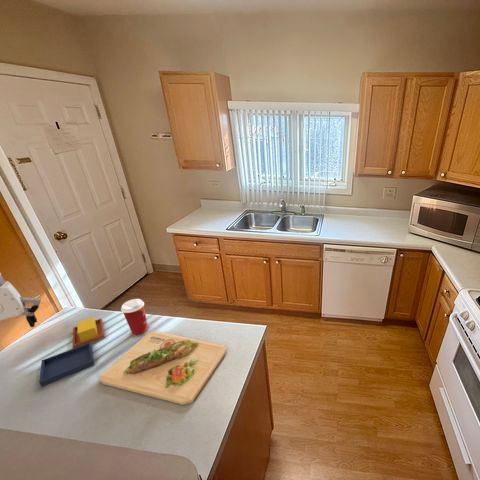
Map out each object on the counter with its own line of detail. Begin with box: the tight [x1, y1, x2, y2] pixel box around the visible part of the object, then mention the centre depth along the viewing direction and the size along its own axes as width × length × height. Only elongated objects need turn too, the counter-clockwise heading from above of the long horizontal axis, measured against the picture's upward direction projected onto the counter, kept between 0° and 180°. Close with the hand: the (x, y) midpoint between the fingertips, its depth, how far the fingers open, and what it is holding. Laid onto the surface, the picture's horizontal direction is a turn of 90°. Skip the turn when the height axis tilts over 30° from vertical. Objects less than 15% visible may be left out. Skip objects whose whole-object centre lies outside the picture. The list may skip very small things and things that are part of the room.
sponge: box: [76, 316, 98, 342], centre depth 103 cm, size 8×5×4 cm, turn 41°
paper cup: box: [120, 298, 149, 336], centre depth 104 cm, size 8×8×14 cm
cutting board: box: [99, 330, 228, 406], centre depth 91 cm, size 35×23×8 cm
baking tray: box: [38, 342, 95, 388], centre depth 90 cm, size 13×11×2 cm
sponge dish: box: [72, 318, 106, 349], centre depth 103 cm, size 12×9×2 cm
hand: (10, 331), depth 77 cm, fingers open, 9 cm apart
